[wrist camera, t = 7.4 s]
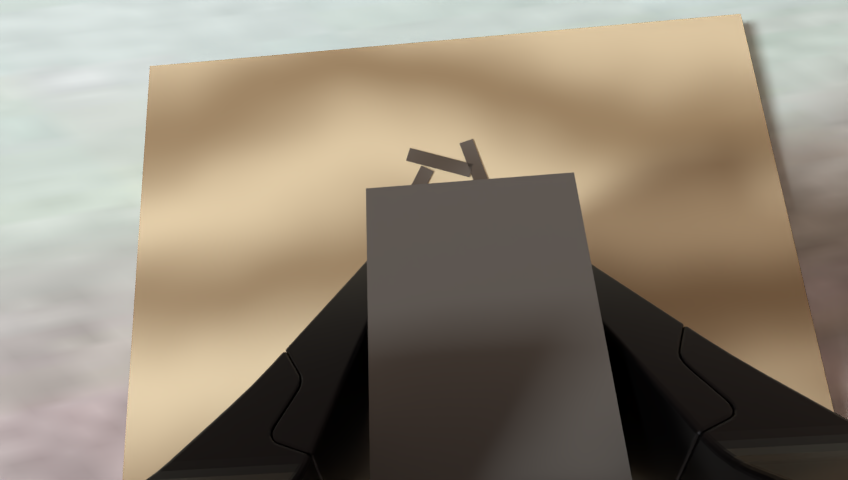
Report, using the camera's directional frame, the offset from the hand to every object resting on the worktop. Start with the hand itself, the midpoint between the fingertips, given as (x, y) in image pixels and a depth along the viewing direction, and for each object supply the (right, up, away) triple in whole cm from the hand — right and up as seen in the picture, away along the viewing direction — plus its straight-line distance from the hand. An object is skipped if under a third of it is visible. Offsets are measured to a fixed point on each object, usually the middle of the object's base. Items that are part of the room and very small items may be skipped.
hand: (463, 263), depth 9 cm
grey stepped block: (0, -4, +5) cm, 6 cm away
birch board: (0, -1, +7) cm, 7 cm away
